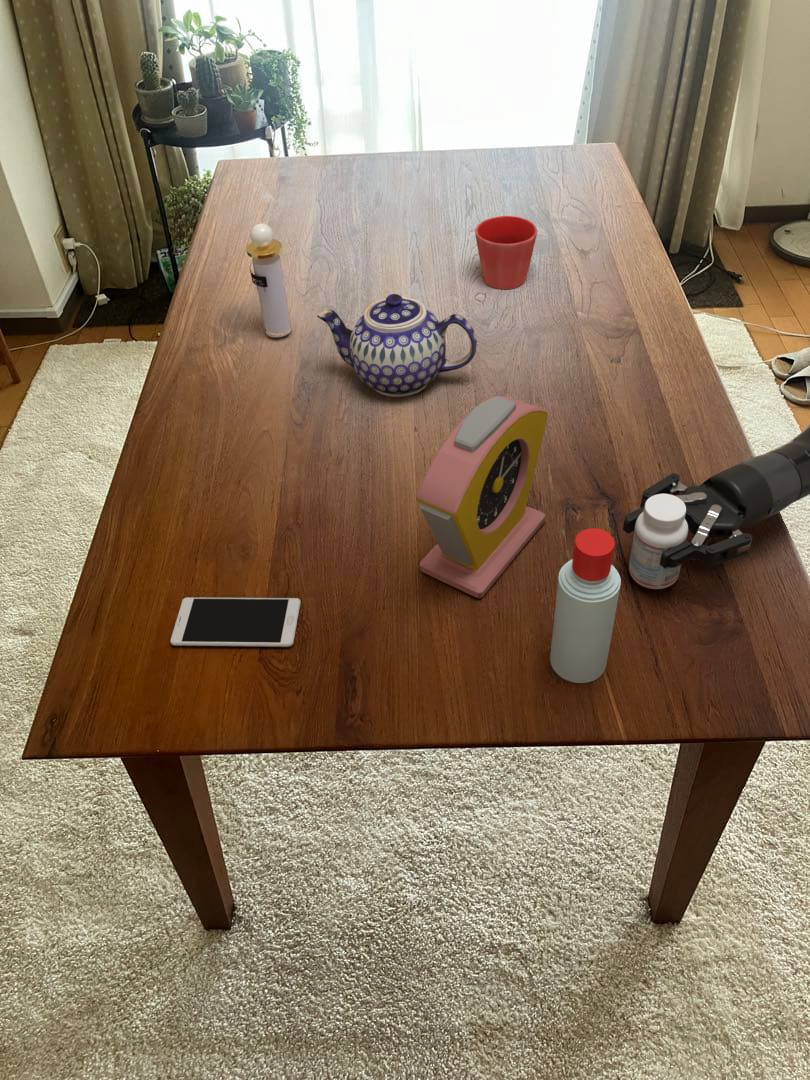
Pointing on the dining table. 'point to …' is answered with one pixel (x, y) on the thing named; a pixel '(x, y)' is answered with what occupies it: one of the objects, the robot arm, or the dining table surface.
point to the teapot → (397, 345)
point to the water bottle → (583, 624)
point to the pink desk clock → (483, 494)
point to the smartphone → (236, 622)
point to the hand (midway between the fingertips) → (644, 543)
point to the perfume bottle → (269, 279)
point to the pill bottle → (657, 540)
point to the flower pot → (505, 250)
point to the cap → (593, 554)
